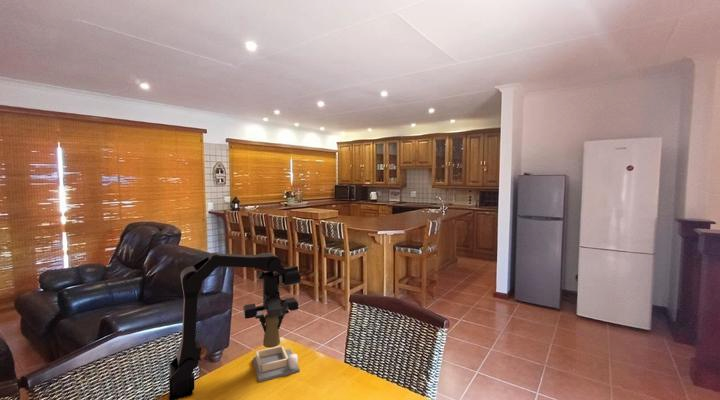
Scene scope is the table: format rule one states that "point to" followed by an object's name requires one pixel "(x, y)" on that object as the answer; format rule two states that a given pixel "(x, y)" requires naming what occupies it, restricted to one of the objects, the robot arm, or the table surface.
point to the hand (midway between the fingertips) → (271, 330)
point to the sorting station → (275, 363)
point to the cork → (271, 332)
